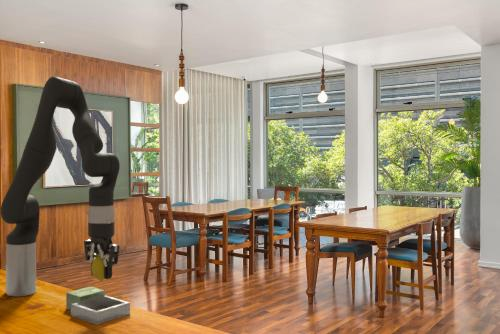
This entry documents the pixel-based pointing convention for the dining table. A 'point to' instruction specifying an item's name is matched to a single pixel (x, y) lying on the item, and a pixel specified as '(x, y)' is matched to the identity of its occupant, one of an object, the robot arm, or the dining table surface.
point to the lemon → (98, 268)
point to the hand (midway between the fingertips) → (101, 276)
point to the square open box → (95, 305)
